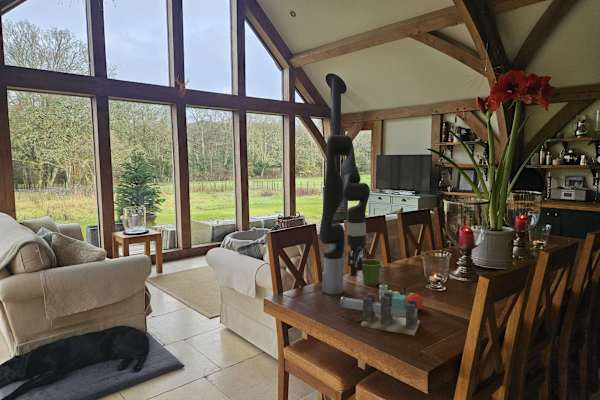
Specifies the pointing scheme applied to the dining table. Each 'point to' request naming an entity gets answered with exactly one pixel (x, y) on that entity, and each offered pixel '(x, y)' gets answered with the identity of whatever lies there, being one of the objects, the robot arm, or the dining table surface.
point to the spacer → (399, 301)
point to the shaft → (375, 306)
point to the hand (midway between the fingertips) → (356, 273)
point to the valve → (384, 289)
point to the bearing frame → (387, 320)
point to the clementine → (415, 297)
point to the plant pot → (371, 271)
